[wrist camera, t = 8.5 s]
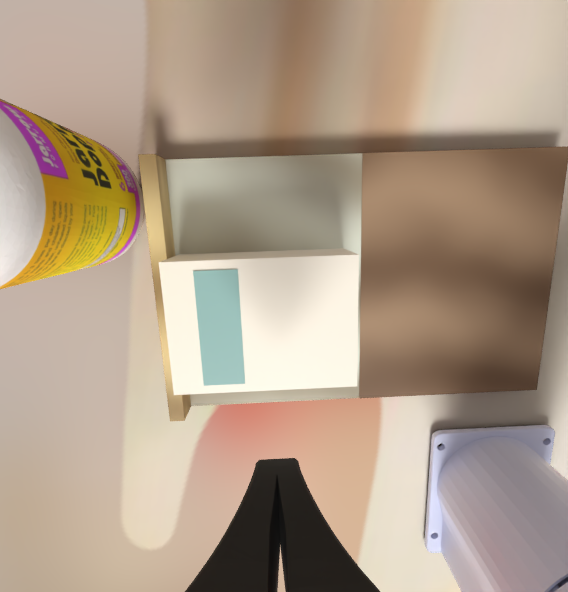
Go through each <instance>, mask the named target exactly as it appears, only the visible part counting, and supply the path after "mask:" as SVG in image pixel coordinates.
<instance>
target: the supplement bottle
mask: <svg viewBox="0 0 568 592" xmlns="http://www.w3.org/2000/svg"><path fill="white" fill-rule="evenodd" d="M143 218H144V200H143V195H142V191H141V188H140V185H139V183H138V181H137V178H136V177H135V175H134V173H133V172H132V170H131V169H130V167H129V166H128V165H127V164H126V163H125V162H124V160H123V159H122V158H121V157H119V156H118V155H117V154H116V153H115V152H113V151H112V150H110V149H109V148H107V147H105V146H104V145H102V144H100V143H98V142H96V141H94V140H92V139H89V138H87V137H85V136H83V135H81V134H78V133H76V132H73V131H72V130H70V129H68V128H65V127H63V126H60V125H58V124H56V123H53V122H51V121H49V120H47V119H44V118H42V117H40V116H38V115H36V114H33V113H31V112H29V111H27V110H24V109H22V108H19V107H17V106H15V105H13V104H10V103H8V102H6V101H4V100H2V99H0V289H3V288H6V287H10V286H15V285H19V284H22V283H26V282H31V281H35V280H39V279H43V278H48V277H51V276H56V275H60V274H64V273H68V272H72V271H76V270H80V269H84V268H89V267H92V266H96V265H100V264H103V263H107V262H109V261H112V260H113V259H116V258H117V257H119V256H120V255H122V254H123V253H124V252H126V251H127V250H128V249H129V248H130V247H131V245H132V244H133V243H134V241H135V240H136V238H137V236H138V234H139V232H140V230H141V227H142V223H143Z"/></svg>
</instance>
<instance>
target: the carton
mask: <svg viewBox="0 0 568 592" xmlns="http://www.w3.org/2000/svg"><path fill="white" fill-rule="evenodd" d="M159 270H160V279H161V288H162V296H163V305H164V314H165V322H166V331H167V340H168V348H169V357H170V366H171V375H172V383H173V392H174V395H187V394H208V393H229V392H250V391H271V390H292V389H313V388H334V387H356V386H357V369H358V289H359V254H356V253H354V252H351V251H349V250H347V249H344V248H336V249H310V250H284V251H257V252H231V253H205V254H179V255H177V256H174V257H171V258H169V259H166V260H163V261H161V262H159Z"/></svg>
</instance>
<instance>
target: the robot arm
mask: <svg viewBox="0 0 568 592" xmlns="http://www.w3.org/2000/svg"><path fill="white" fill-rule="evenodd" d="M554 436H555V431H554V429H552V428H551V427H550V426H548V425H531V426H512V427H492V428H473V429H453V430H438V431H436V432H434V433H433V434H432V438H431V453H430V468H429V484H428V499H427V514H426V529H425V547H426V549H427V550H428V552H431V553H439V552H442V554H443V556H444V558H445V560H446V562H447V564H448V566H449V568H450V570H451V572H452V574H453V576H454V578H455V580H456V582H457V584H458V586H459V588H460V590H461V592H568V480H567V479H566V478H565V477H563V476H562V475H561V474H560V473H559V472H558V471H557V470H556V469H554V468H553V467H552V466H551V465H550V462H551V456H552V449H553V443H554ZM544 439H545V440H544ZM543 440H544V441H543ZM441 443H442V445H441V446H439V447H437V446H438V445H439V444H441ZM280 545H281V554H282V563H283V571H284V581H285V589H286V592H380V591H379V590H378V588H377V587H376V586H375V585H374V584H373V583H372V582H371V581H370V579H369V578H368V577H367V576H366V575H365V574H364V573H363V571H362V570H361V569H360V568H359V567H358V565H357V564H356V563H355V562H354V560H353V559H352V558H351V556H350V555H349V554H348V553H347V551H346V550H345V548H344V547H343V546H342V544H341V543H340V542H339V540H338V539H337V537H336V536H335V534H334V533H333V531H332V530H331V528H330V527H329V525H328V523H327V522H326V520H325V519H324V517H323V515H322V513H321V512H320V510H319V508H318V506H317V504H316V502H315V501H314V499H313V497H312V495H311V493H310V491H309V489H308V487H307V485H306V482H305V480H304V478H303V475H302V473H301V470H300V467H299V463H298V461H297V460H296V459H295V458H289V459H268V460H259V461H258V462H257V463H256V467H255V470H254V473H253V476H252V479H251V482H250V484H249V486H248V489H247V491H246V493H245V495H244V497H243V500H242V502H241V504H240V506H239V508H238V510H237V512H236V514H235V516H234V518H233V520H232V521H231V523H230V525H229V527H228V529H227V531H226V533H225V535H224V536H223V538H222V539H221V541H220V543H219V544H218V546H217V547H216V549H215V550H214V552H213V554H212V555H211V557H210V558H209V560H208V561H207V563H206V564H205V565H204V567H203V568H202V570H201V571H200V572H199V574H198V575H197V576H196V578H195V579H194V581H193V582H192V583H191V585H190V586H189V587H188V588H187V590H186V591H185V592H277V588H278V570H279V554H280Z"/></svg>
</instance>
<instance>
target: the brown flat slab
mask: <svg viewBox="0 0 568 592" xmlns="http://www.w3.org/2000/svg"><path fill="white" fill-rule="evenodd" d="M138 157H139V166H140V174H141V182H142V191H143V199H144V207H145V216H146V224H147V232H148V241H149V249H150V257H151V266H152V274H153V282H154V291H155V299H156V307H157V316H158V324H159V332H160V341H161V349H162V357H163V366H164V374H165V382H166V391H167V399H168V407H169V416H170V421H185V418H186V416H187V414H188V412H189V409H190V407H191V406H201V405H221V404H240V403H241V404H242V403H262V402H283V401H304V400H324V399H345V398H374V397H395V396H416V395H436V394H457V393H477V392H498V391H519V390H537V383H538V376H539V369H540V361H541V354H542V347H543V339H544V332H545V325H546V317H547V310H548V303H549V295H550V288H551V281H552V273H553V266H554V259H555V252H556V244H557V237H558V230H559V222H560V215H561V208H562V200H563V193H564V186H565V178H566V171H567V164H568V147H538V148H507V149H476V150H444V151H413V152H381V153H355V154H324V155H293V156H261V157H230V158H198V159H167V160H165V159H163V158H162V157H160V156H158V155H156V154H139V155H138ZM336 248H344V249H347V250H349V251H351V252H354V253H356V254H359V289H358V369H357V386H356V387H334V388H313V389H292V390H271V391H250V392H229V393H208V394H187V395H174V392H173V383H172V375H171V366H170V357H169V348H168V340H167V331H166V322H165V314H164V305H163V296H162V288H161V279H160V270H159V262H161V261H163V260H166V259H169V258H171V257H174V256H177V255H179V254H205V253H231V252H257V251H284V250H310V249H336Z"/></svg>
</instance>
